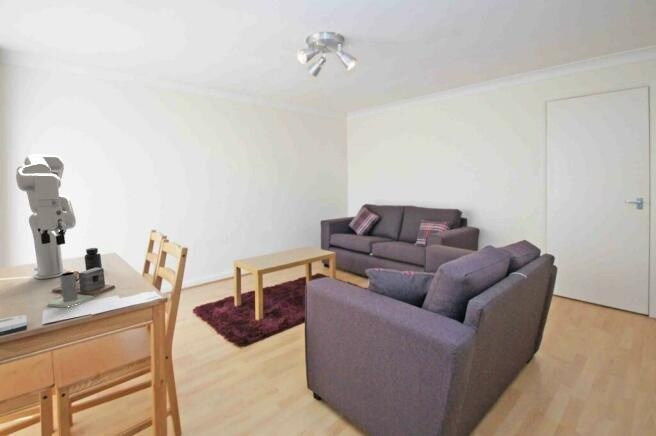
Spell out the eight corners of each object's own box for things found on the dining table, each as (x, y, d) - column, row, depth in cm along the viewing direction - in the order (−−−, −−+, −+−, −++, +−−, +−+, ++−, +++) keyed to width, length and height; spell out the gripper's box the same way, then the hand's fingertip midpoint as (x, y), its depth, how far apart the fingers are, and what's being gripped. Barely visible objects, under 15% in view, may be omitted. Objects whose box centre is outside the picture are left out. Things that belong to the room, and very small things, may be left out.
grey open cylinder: (67, 297, 131) (64, 272, 129) (80, 296, 131) (77, 271, 130) (60, 301, 126) (57, 276, 125) (73, 301, 127) (70, 275, 125)
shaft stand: (52, 291, 140) (49, 271, 139) (75, 284, 149) (73, 265, 148) (93, 296, 135) (91, 274, 133) (114, 287, 144) (112, 268, 143)
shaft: (64, 283, 141) (62, 272, 140) (75, 280, 146) (74, 269, 145) (85, 285, 138) (84, 274, 138) (96, 282, 143) (95, 270, 142)
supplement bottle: (105, 270, 171) (103, 247, 170) (92, 274, 165) (89, 250, 163) (96, 269, 173) (93, 246, 172) (82, 272, 167) (80, 249, 165)
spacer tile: (47, 305, 125) (47, 303, 125) (73, 296, 135) (73, 293, 134) (68, 308, 123) (67, 305, 122) (93, 298, 132) (92, 295, 132)
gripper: (73, 203, 142) (77, 243, 144) (42, 202, 146) (47, 241, 148) (55, 204, 135) (60, 246, 137) (23, 204, 139) (28, 244, 141)
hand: (53, 243), depth 143 cm, fingers open, 7 cm apart
